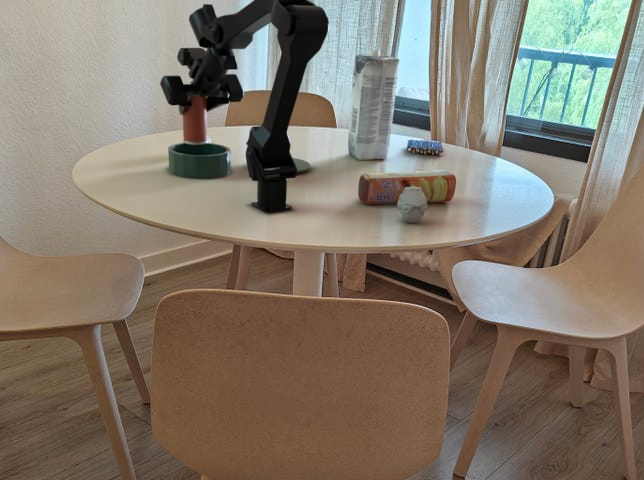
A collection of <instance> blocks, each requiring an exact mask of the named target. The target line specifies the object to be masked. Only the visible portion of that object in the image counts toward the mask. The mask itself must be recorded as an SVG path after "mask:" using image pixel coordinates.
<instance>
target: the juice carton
mask: <svg viewBox="0 0 644 480" xmlns="http://www.w3.org/2000/svg"><path fill="white" fill-rule="evenodd" d="M380 52H381V50H368V55H364V54H356V55H355V58H354V68H353V69H354V70H353V79H352V89H351V101H350V114H349V123H348V124H349V126H348V140H347V145H348V154H349V155H350V156H352V157H354V158H355V159H357V160H360V161H366V160H367V161H368V160H386V159H387V157H388V154H389V149H390V143H391V135H392V126H393V120H394V119H393V118H394V110H395V103H396V102H395V101H396V93H397V84H398V83H397V82H398V76H399V65H400V64H399V63H400V59H399V58H397V57H393V56H389V55H380V54H381V53H380Z"/></svg>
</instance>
